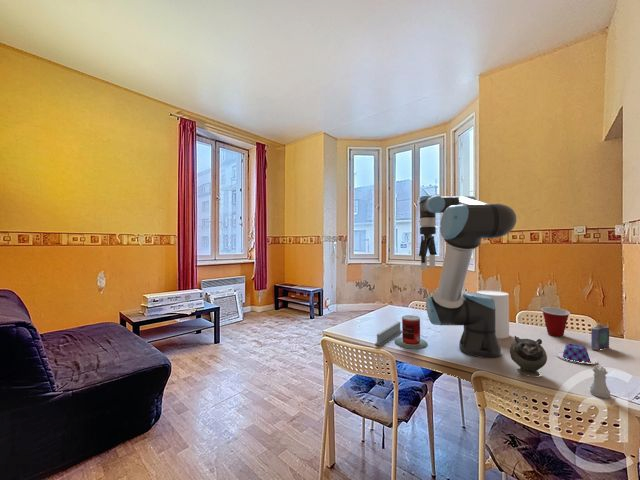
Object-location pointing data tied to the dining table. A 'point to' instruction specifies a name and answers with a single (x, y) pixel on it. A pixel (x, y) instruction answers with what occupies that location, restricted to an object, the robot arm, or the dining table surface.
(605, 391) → the rook chess piece
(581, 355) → the checkered hat
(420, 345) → the resting mat
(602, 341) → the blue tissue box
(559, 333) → the plastic cup
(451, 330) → the dining table surface
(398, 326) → the plastic divider
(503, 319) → the canister
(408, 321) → the canned food
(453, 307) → the robot arm
